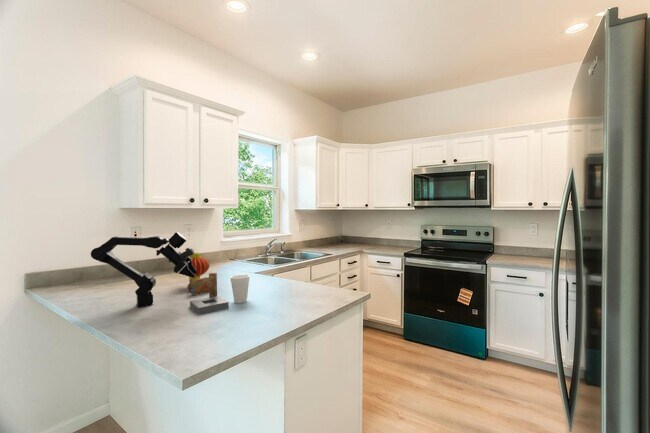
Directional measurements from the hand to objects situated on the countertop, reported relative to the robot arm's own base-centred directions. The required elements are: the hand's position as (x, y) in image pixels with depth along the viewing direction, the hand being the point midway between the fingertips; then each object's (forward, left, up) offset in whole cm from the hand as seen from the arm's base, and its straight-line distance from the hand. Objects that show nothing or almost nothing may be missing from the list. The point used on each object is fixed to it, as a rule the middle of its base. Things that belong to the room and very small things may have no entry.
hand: (195, 275), depth 163 cm
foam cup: (+18, -15, -14) cm, 27 cm away
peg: (+8, -3, -14) cm, 16 cm away
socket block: (+2, -15, -14) cm, 21 cm away
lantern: (+9, +34, -14) cm, 37 cm away
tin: (+7, +15, -14) cm, 21 cm away
